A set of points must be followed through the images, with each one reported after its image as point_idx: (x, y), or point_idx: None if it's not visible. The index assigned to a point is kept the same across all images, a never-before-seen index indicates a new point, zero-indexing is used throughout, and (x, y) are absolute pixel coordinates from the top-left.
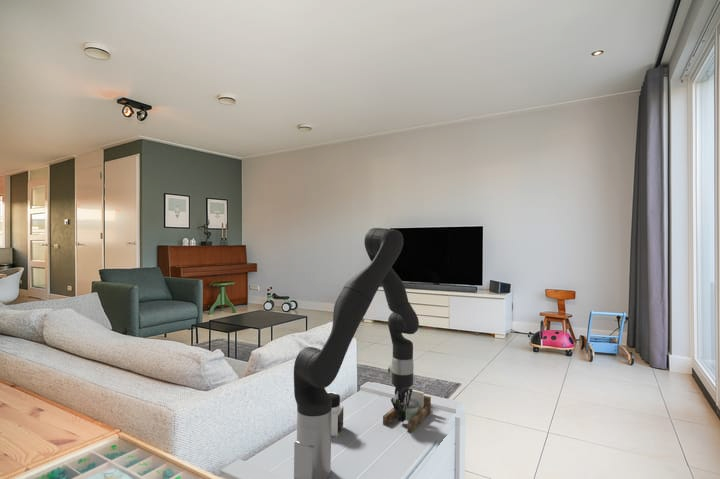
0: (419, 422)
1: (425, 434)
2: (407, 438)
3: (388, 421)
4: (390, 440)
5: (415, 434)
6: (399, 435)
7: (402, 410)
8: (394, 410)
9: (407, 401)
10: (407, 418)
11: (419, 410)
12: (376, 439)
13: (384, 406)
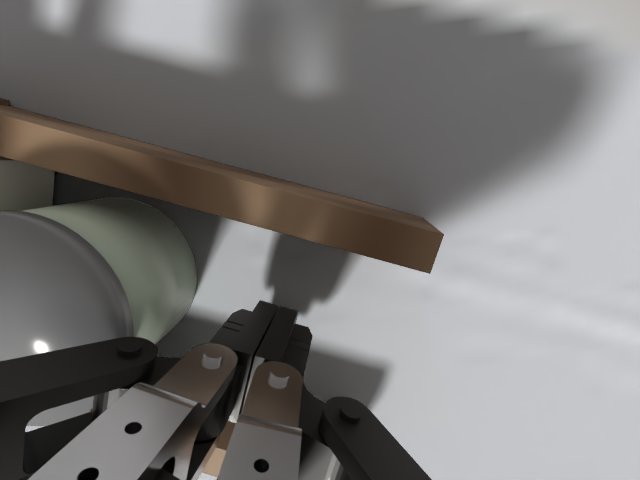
0: (226, 165)
1: (417, 79)
2: (534, 232)
3: None
4: (596, 359)
5: (441, 173)
6: (493, 304)
7: (298, 390)
8: None
9: (168, 405)
10: (189, 284)
11: (18, 194)
12: (597, 456)
13: None
